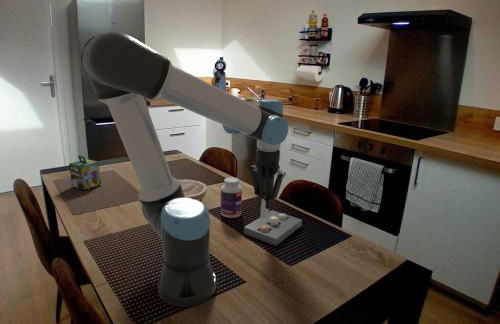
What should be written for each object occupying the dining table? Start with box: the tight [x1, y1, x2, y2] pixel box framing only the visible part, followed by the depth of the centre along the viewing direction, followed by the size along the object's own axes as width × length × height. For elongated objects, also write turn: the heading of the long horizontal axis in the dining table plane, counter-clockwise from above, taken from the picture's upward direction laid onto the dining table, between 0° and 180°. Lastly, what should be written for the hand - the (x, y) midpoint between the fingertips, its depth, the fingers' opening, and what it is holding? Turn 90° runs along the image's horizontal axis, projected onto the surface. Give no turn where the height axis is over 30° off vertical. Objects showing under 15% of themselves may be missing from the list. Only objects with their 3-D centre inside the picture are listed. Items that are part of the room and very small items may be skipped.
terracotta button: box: [260, 225, 269, 233], centre depth 119 cm, size 3×3×3 cm
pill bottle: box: [220, 177, 243, 219], centre depth 133 cm, size 8×8×14 cm
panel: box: [243, 209, 303, 246], centre depth 124 cm, size 18×13×2 cm
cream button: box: [269, 216, 279, 227], centre depth 123 cm, size 3×3×3 cm
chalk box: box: [68, 154, 102, 191], centre depth 157 cm, size 9×9×15 cm
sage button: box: [278, 212, 288, 221], centre depth 128 cm, size 3×3×3 cm
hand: (264, 216), depth 117 cm, fingers closed
